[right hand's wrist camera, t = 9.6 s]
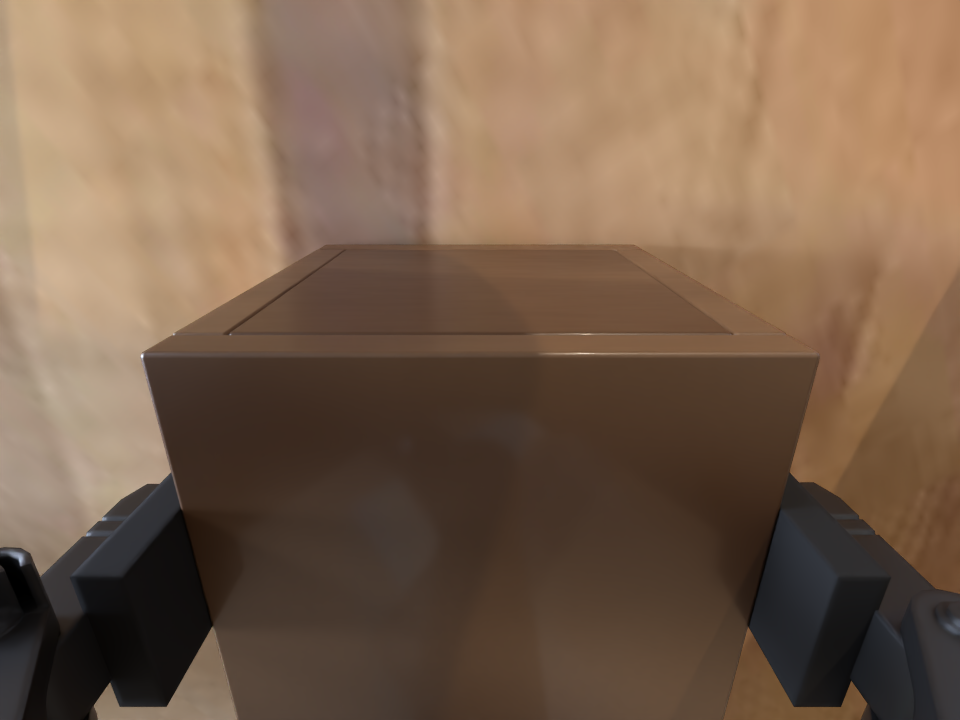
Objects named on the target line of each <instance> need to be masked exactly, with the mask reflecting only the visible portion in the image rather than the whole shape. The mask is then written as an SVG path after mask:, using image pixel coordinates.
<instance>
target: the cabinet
mask: <svg viewBox="0 0 960 720" xmlns="http://www.w3.org/2000/svg"><path fill="white" fill-rule="evenodd" d="M819 359H820V355H819V353H818V352H817V351H815V350H813V349H812V348H810V347H808V346H806V345H805V344H803V343H801V342H800V341H798V340H796V339H794V338H793V337H791V336H789V335H786V333H785V332H783V331H781V330H779V329H778V328H776V327H774V326H772V325H771V324H769V323H767V322H766V321H764V320H762V319H760V318H759V317H757V316H755V315H754V314H752V313H750V312H748V311H747V310H745V309H743V308H742V307H740V306H738V305H736V304H735V303H733V302H731V301H730V300H728V299H726V298H724V297H723V296H721V295H719V294H717V293H716V292H714V291H712V290H711V289H709V288H707V287H705V286H704V285H702V284H700V283H699V282H697V281H695V280H693V279H692V278H690V277H688V276H687V275H685V274H683V273H681V272H680V271H678V270H676V269H675V268H673V267H671V266H669V265H668V264H666V263H664V262H663V261H661V260H659V259H657V258H656V257H654V256H652V255H650V254H649V253H647V252H645V251H644V250H642V249H640V248H638V247H637V246H635V245H325V246H323V247H322V248H320V249H318V250H316V251H314V252H313V253H311V254H309V255H307V256H306V257H304V258H302V259H301V260H299V261H297V262H295V263H294V264H292V265H290V266H289V267H287V268H285V269H283V270H282V271H280V272H278V273H277V274H275V275H273V276H271V277H270V278H268V279H266V280H264V281H263V282H261V283H259V284H258V285H256V286H254V287H252V288H251V289H249V290H247V291H246V292H244V293H242V294H240V295H239V296H237V297H235V298H234V299H232V300H230V301H228V302H227V303H225V304H223V305H222V306H220V307H218V308H216V309H215V310H213V311H211V312H210V313H208V314H206V315H204V316H203V317H201V318H199V319H198V320H196V321H194V322H192V323H191V324H189V325H187V326H185V327H184V328H182V329H180V330H179V331H177V332H175V333H174V335H172V336H170V337H168V338H166V339H165V340H163V341H161V342H159V343H158V344H156V345H154V346H153V347H151V348H149V349H147V350H146V351H144V352H142V354H141V360H142V364H143V368H144V371H145V375H146V379H147V383H148V386H149V390H150V394H151V398H152V401H153V405H154V409H155V413H156V416H157V420H158V424H159V428H160V431H161V435H162V439H163V443H164V446H165V450H166V454H167V458H168V461H169V465H170V469H171V473H172V476H173V480H174V484H175V488H176V491H177V495H178V499H179V503H180V506H181V510H182V514H183V518H184V521H185V525H186V529H187V533H188V537H189V540H190V544H191V548H192V552H193V555H194V559H195V563H196V567H197V570H198V574H199V578H200V582H201V585H202V589H203V593H204V597H205V600H206V604H207V608H208V612H209V615H210V619H211V623H212V627H213V630H214V634H215V638H216V642H217V645H218V649H219V653H220V657H221V660H222V664H223V668H224V672H225V675H226V679H227V683H228V687H229V690H230V694H231V698H232V702H233V705H234V709H235V713H236V717H237V720H723V718H724V714H725V711H726V707H727V703H728V699H729V696H730V692H731V688H732V684H733V681H734V677H735V673H736V669H737V666H738V662H739V658H740V655H741V651H742V647H743V643H744V640H745V636H746V632H747V628H748V625H749V621H750V617H751V613H752V610H753V606H754V602H755V598H756V595H757V591H758V587H759V583H760V580H761V576H762V572H763V569H764V565H765V561H766V557H767V554H768V550H769V546H770V542H771V539H772V535H773V531H774V527H775V524H776V520H777V516H778V512H779V509H780V505H781V501H782V498H783V494H784V490H785V486H786V483H787V479H788V475H789V471H790V468H791V464H792V460H793V456H794V453H795V449H796V445H797V441H798V438H799V434H800V430H801V426H802V423H803V419H804V415H805V412H806V408H807V404H808V400H809V397H810V393H811V389H812V385H813V382H814V378H815V374H816V370H817V367H818V363H819Z"/></svg>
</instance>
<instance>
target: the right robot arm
mask: <svg viewBox="0 0 960 720" xmlns="http://www.w3.org/2000/svg"><path fill="white" fill-rule="evenodd" d="M748 627H749V629H750V630H751V632H752V634H753V636H754V637H755V639H756V641H757V643H758V644H759V646H760V648H761V650H762V651H763V653H764V655H765V657H766V658H767V660H768V662H769V664H770V665H771V667H772V669H773V671H774V672H775V674H776V676H777V678H778V679H779V681H780V683H781V685H782V686H783V688H784V690H785V692H786V694H787V695H788V697H789V699H790V701H791V702H792V704H793V706H794V707H841V705H842V703H843V700H844V698H845V695H846V692H847V690H848V687H849V685H850V682H851V681H852V682H853V683H854V685H855V686H856V688H857V689H858V690H859V692H860V693H861V695H862V696H863V698H864V699H865V700H866V702H867V706H866V708H865V711H864V713H863V715H862V718H861V720H960V594H958V593H953V592H948V591H944V590H939V589H935V588H934V587H933V586H932V585H931V584H930V583H929V582H928V581H927V580H926V579H925V578H924V577H922V576H921V575H920V574H919V573H918V572H917V571H916V570H915V569H914V568H913V567H912V566H911V565H910V564H909V563H908V562H907V561H906V560H905V559H904V558H903V557H901V556H900V555H899V554H898V553H897V552H896V551H895V550H894V549H893V548H892V547H891V546H890V545H889V544H888V543H887V542H886V541H885V540H884V539H883V538H882V537H880V536H879V535H875V531H874V530H873V529H872V528H871V527H870V526H869V525H868V524H867V523H866V522H865V521H864V520H860V519H859V516H858V515H857V514H856V513H855V512H854V511H853V510H852V509H851V508H850V507H849V506H848V505H847V504H846V503H845V502H844V501H843V500H842V499H841V498H839V497H838V496H836V495H834V494H832V493H831V492H829V491H827V490H826V489H824V488H822V487H821V486H819V485H817V484H816V483H814V482H798V481H797V480H796V479H795V478H794V477H793V476H792V475H791V474H790V473H789V475H788V479H787V483H786V486H785V490H784V494H783V498H782V501H781V505H780V509H779V512H778V516H777V520H776V524H775V527H774V531H773V535H772V539H771V542H770V546H769V550H768V554H767V557H766V561H765V565H764V569H763V572H762V576H761V580H760V583H759V587H758V591H757V595H756V598H755V602H754V606H753V610H752V613H751V617H750V621H749V625H748ZM211 628H212V623H211V619H210V615H209V612H208V608H207V604H206V600H205V597H204V593H203V589H202V585H201V582H200V578H199V574H198V570H197V567H196V563H195V559H194V555H193V552H192V548H191V544H190V540H189V537H188V533H187V529H186V525H185V521H184V518H183V514H182V510H181V506H180V503H179V499H178V495H177V491H176V488H175V484H174V480H173V476H172V473H170V474H169V475H168V476H167V477H166V478H165V479H164V480H163V481H162V482H161V483H160V484H147V485H145V486H143V487H142V488H140V489H138V490H136V491H135V492H133V493H131V494H130V495H128V496H126V497H125V498H123V499H121V500H120V501H119V502H118V503H117V504H116V505H115V506H114V507H113V508H112V509H111V510H110V511H109V512H108V513H107V514H106V515H105V516H104V517H103V519H102V521H98V522H97V523H96V524H95V525H94V526H93V527H92V528H91V529H90V530H89V531H88V532H87V535H86V537H82V538H81V539H80V540H79V541H77V542H76V543H75V544H74V545H73V546H72V547H71V548H70V549H69V550H68V551H67V552H66V553H65V554H64V555H63V556H62V557H61V558H60V559H59V560H58V561H57V562H56V563H55V564H53V565H52V566H51V567H50V568H49V569H48V570H47V571H46V572H45V573H44V574H43V575H42V576H41V577H40V576H39V574H38V571H37V569H36V566H35V564H34V562H33V559H32V557H31V554H30V553H28V552H27V551H25V550H23V549H21V548H7V547H4V548H0V720H98V718H97V713H96V711H95V708H94V706H93V705H94V704H95V703H96V701H97V700H98V698H99V697H100V696H101V694H102V693H103V691H104V690H105V688H106V687H107V686H108V684H109V683H111V685H112V688H113V691H114V693H115V696H116V698H117V701H118V704H119V706H120V707H167V705H168V703H169V702H170V700H171V698H172V696H173V694H174V693H175V691H176V689H177V687H178V686H179V684H180V682H181V680H182V679H183V677H184V675H185V673H186V672H187V670H188V668H189V666H190V665H191V663H192V661H193V659H194V658H195V656H196V654H197V652H198V651H199V649H200V647H201V645H202V643H203V642H204V640H205V638H206V636H207V635H208V633H209V631H210V629H211Z"/></svg>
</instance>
